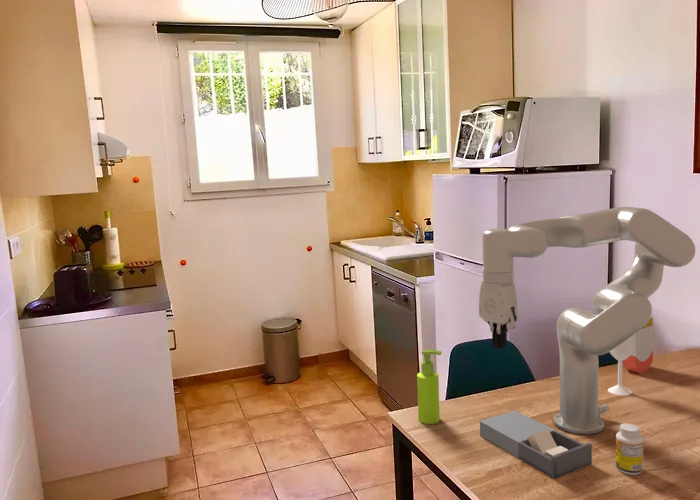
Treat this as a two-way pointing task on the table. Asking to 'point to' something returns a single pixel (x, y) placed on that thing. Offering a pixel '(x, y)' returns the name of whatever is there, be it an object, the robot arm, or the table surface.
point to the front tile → (555, 451)
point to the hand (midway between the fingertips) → (499, 347)
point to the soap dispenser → (428, 390)
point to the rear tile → (542, 441)
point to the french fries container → (641, 349)
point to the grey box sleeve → (510, 430)
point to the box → (558, 456)
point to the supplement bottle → (629, 449)
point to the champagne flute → (621, 354)
